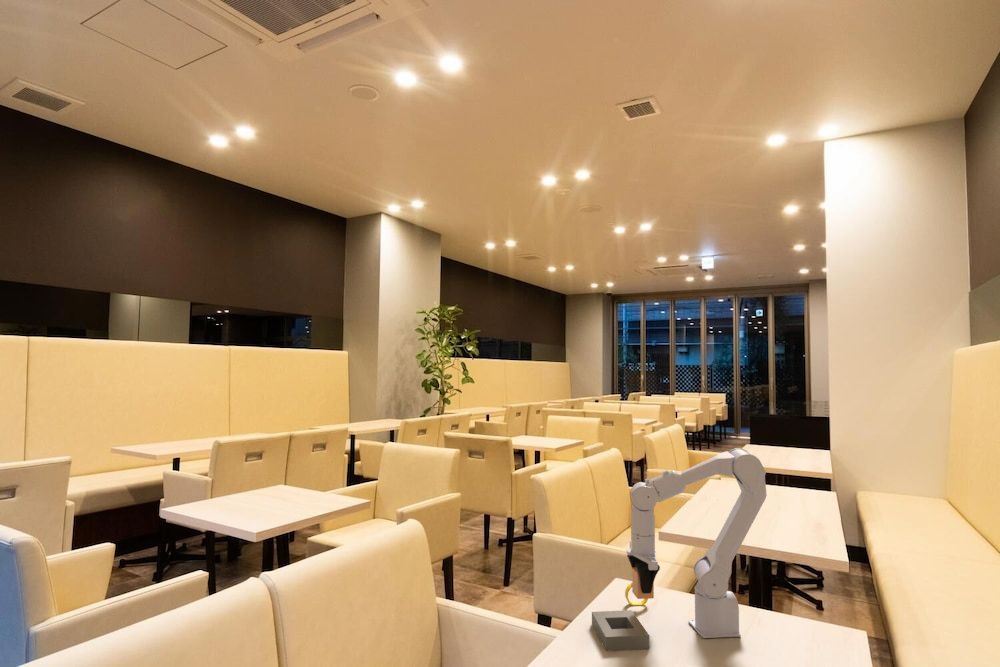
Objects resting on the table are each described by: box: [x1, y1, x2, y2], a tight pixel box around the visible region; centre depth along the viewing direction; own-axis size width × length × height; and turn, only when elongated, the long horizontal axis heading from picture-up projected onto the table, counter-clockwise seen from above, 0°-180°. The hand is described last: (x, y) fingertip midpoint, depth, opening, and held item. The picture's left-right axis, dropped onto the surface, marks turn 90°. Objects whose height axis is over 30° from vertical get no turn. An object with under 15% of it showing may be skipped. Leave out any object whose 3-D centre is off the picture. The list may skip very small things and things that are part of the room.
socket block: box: [591, 609, 650, 652], centre depth 127 cm, size 10×12×3 cm
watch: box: [624, 581, 649, 607], centre depth 144 cm, size 6×3×6 cm, turn 94°
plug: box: [631, 567, 655, 600], centre depth 134 cm, size 4×4×6 cm
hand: (643, 588), depth 134 cm, fingers closed on plug, 4 cm apart
